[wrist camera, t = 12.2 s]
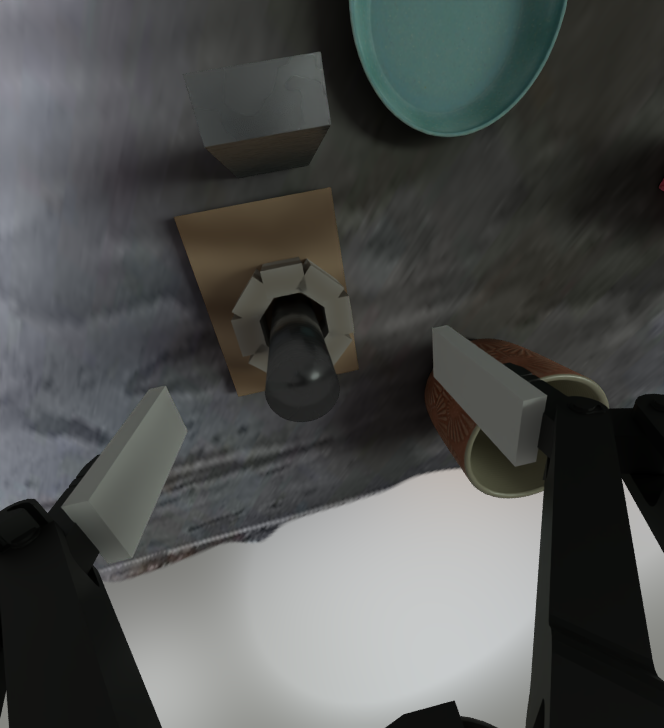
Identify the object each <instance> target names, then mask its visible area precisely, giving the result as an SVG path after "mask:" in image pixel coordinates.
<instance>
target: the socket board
mask: <svg viewBox="0 0 664 728" xmlns="http://www.w3.org/2000/svg"><path fill="white" fill-rule="evenodd" d="M174 219H175V222H176V225H177V227H178V230H179V233H180V236H181V239H182V241H183V244H184V247H185V250H186V252H187V255H188V258H189V261H190V264H191V266H192V269H193V272H194V275H195V277H196V280H197V283H198V286H199V288H200V291H201V294H202V297H203V300H204V302H205V305H206V308H207V311H208V313H209V316H210V319H211V322H212V325H213V327H214V330H215V333H216V336H217V338H218V341H219V344H220V347H221V350H222V352H223V355H224V358H225V361H226V363H227V366H228V369H229V372H230V375H231V377H232V380H233V383H234V386H235V388H236V391H237V394H238V397H239V396H244V395H248V394H253V393H257V392H262V391H265V386H266V375H267V364H268V354H269V343H270V332H271V321H272V311H273V306H274V303H275V302H276V300H277V299H278V298H279V297H280V296H285V295H290V294H295V293H300V294H302V295H304V296H305V297H307V298H308V299H309V301H310V302H311V304H312V306H313V309H314V312H315V315H316V318H317V321H318V323H319V326H320V329H321V332H322V335H323V337H324V340H325V343H326V346H327V349H328V352H329V354H330V357H331V360H332V363H333V366H334V369H335V371H336V374H341V373H346V372H350V371H354V370H359V368H358V362H357V355H356V349H355V342H354V336H353V333H354V325H353V319H352V312H351V306H350V299H349V295H348V294H347V290H346V283H345V277H344V270H343V264H342V257H341V251H340V244H339V238H338V231H337V225H336V218H335V212H334V205H333V199H332V192H331V187H329V188H324V189H318V190H313V191H308V192H303V193H297V194H292V195H287V196H282V197H276V198H271V199H266V200H261V201H255V202H250V203H245V204H240V205H234V206H229V207H224V208H219V209H213V210H208V211H203V212H198V213H192V214H187V215H182V216H177V217H174Z"/></svg>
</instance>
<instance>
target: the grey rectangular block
mask: <svg viewBox="0 0 664 728" xmlns="http://www.w3.org/2000/svg"><path fill="white" fill-rule="evenodd" d="M183 76H184V80H185V83H186V87H187V90H188V93H189V97H190V100H191V104H192V107H193V110H194V114H195V117H196V121H197V124H198V127H199V131H200V134H201V138H202V141H203V144H204V147H205V148H206V149H207V150H208V151H209V152H210V153H211V154H212V155H213V156H215V157H216V158H217V159H218V160H219V161H220V162H221V163H222V164H223V165H224V166H225V167H226V168H228V169H229V170H230V171H231V172H232V173H233V174H234V175H235V176H236V177H237V178H243V177H248V176H254V175H259V174H264V173H270V172H275V171H280V170H286V169H291V168H297V167H302V166H307V165H309V164H310V162H311V160H312V158H313V156H314V155H315V153H316V151H317V149H318V147H319V145H320V144H321V142H322V140H323V138H324V136H325V134H326V133H327V131H328V129H329V127H330V125H331V122H330V115H329V108H328V101H327V94H326V86H325V79H324V72H323V65H322V58H321V52H315V53H309V54H303V55H297V56H291V57H285V58H279V59H273V60H267V61H261V62H254V63H248V64H242V65H236V66H230V67H224V68H218V69H212V70H206V71H200V72H194V73H188V74H183Z"/></svg>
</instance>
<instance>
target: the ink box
mask: <svg viewBox="0 0 664 728" xmlns="http://www.w3.org/2000/svg"><path fill="white" fill-rule="evenodd" d="M659 189H661V190H663V191H664V179H663V181H662V182H661V184H660V185H659Z"/></svg>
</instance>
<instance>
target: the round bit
mask: <svg viewBox="0 0 664 728" xmlns="http://www.w3.org/2000/svg"><path fill="white" fill-rule="evenodd" d="M339 391H340V386H339V380H338V377H337V374H336V371H335V369H334V366H333V363H332V360H331V357H330V354H329V352H328V349H327V346H326V343H325V340H324V337H323V335H322V332H321V329H320V326H319V323H318V321H317V318H316V315H315V312H314V309H313V306H312V304H311V302H310V301H309V299H308V298H307V297H305V296H304V295H302V294H300V293H295V294H290V295H285V296H280V297H279V298H278V299H277V300H276V302H275V303H274V306H273V311H272V321H271V332H270V343H269V354H268V364H267V375H266V386H265V395H266V400H267V402H268V404H269V406H270V407H271V409H272V410H273V411H274V412H275V413H276V414H278V415H279V416H280V417H282V418H284V419H287V420H290V421H295V422H307V421H312V420H315V419H318V418H320V417H322V416H323V415H325V414H326V413H327V412H329V411H330V410H331V409H332V407H333V406H334V405H335V403H336V401H337V399H338V396H339Z"/></svg>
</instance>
